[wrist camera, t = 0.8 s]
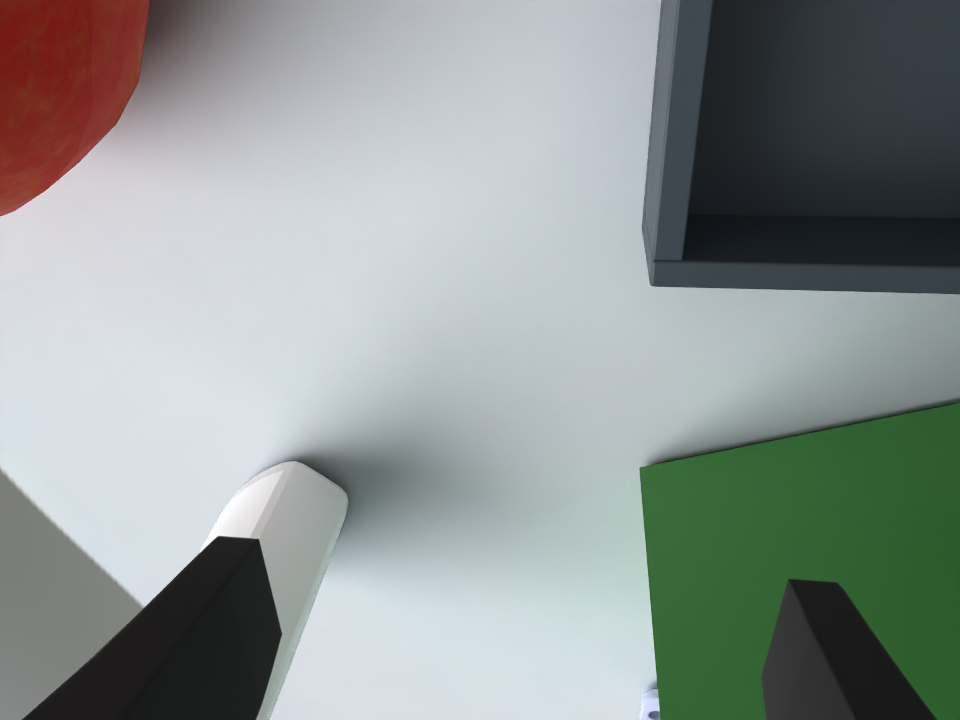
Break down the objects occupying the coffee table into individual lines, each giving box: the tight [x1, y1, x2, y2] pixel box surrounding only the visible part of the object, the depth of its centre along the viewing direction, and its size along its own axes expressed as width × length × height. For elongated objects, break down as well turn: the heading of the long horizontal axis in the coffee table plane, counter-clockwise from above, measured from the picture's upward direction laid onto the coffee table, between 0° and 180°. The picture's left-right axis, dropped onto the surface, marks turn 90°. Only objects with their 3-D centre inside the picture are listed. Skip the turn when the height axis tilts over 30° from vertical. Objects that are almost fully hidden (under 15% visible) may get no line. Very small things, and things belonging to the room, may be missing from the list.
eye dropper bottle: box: [199, 461, 348, 720], centre depth 20 cm, size 4×6×12 cm
